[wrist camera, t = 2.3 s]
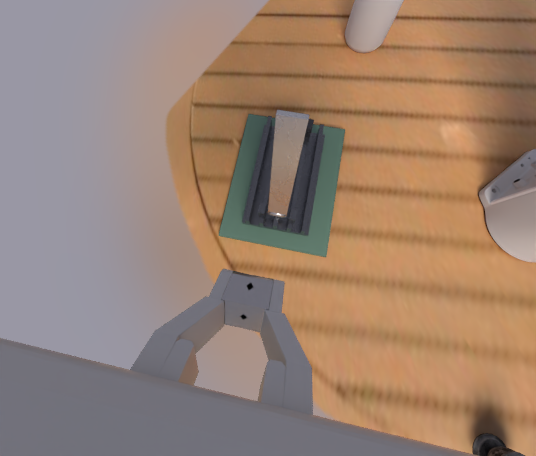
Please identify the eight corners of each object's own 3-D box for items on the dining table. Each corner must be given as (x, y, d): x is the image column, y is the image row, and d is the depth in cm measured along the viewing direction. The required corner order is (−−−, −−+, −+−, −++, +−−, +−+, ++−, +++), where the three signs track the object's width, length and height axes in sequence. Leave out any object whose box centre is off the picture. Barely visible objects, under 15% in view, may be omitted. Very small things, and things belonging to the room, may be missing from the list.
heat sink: (306, 236, 36) (314, 230, 30) (243, 223, 37) (237, 215, 31) (323, 139, 40) (332, 115, 33) (264, 129, 40) (263, 104, 34)
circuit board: (324, 257, 37) (326, 256, 36) (219, 236, 38) (218, 235, 37) (343, 132, 41) (345, 129, 40) (249, 117, 42) (248, 113, 41)
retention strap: (286, 213, 33) (285, 219, 32) (268, 210, 33) (267, 216, 32) (309, 113, 18) (308, 121, 18) (277, 108, 19) (275, 115, 18)
